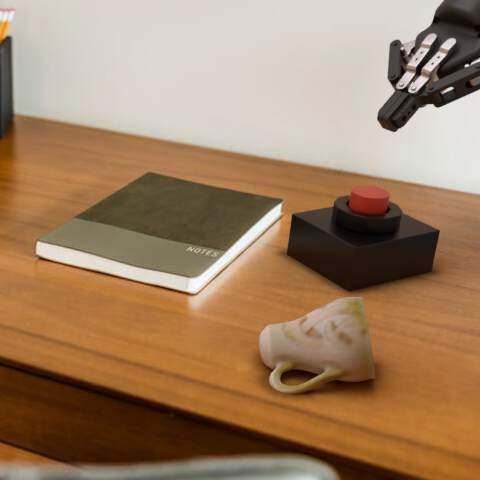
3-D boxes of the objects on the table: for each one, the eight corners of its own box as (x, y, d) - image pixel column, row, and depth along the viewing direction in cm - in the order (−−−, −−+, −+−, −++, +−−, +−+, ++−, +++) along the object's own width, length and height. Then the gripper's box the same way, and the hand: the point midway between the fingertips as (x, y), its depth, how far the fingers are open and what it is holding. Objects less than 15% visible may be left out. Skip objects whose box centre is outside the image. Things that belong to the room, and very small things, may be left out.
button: (368, 200, 98) (371, 183, 98) (394, 213, 95) (398, 195, 94) (340, 205, 97) (343, 187, 96) (366, 218, 93) (370, 200, 93)
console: (366, 240, 105) (375, 184, 103) (431, 274, 97) (443, 214, 95) (285, 257, 100) (293, 197, 97) (348, 294, 92) (359, 231, 89)
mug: (245, 346, 81) (310, 257, 79) (336, 409, 80) (404, 320, 78) (240, 369, 74) (311, 271, 72) (340, 438, 73) (415, 341, 71)
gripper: (428, -34, 96) (325, 87, 96) (534, -16, 86) (420, 120, 85) (453, 14, 101) (355, 130, 100) (556, 37, 91) (448, 166, 90)
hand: (385, 125), depth 93 cm, fingers closed
